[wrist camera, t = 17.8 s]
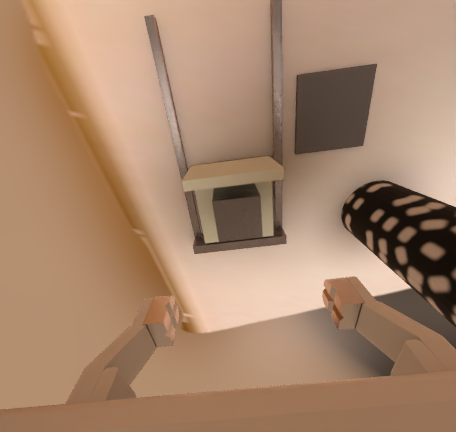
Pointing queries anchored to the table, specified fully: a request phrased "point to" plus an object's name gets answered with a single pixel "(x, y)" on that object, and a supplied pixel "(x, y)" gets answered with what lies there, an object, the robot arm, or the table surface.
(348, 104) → the station pad
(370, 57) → the table surface
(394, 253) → the white-spotted black cylinder
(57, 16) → the table surface
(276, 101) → the track
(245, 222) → the steel block
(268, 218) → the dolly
